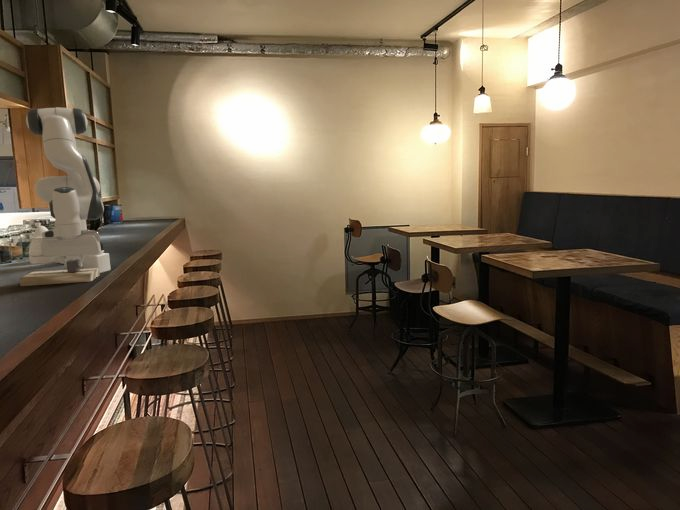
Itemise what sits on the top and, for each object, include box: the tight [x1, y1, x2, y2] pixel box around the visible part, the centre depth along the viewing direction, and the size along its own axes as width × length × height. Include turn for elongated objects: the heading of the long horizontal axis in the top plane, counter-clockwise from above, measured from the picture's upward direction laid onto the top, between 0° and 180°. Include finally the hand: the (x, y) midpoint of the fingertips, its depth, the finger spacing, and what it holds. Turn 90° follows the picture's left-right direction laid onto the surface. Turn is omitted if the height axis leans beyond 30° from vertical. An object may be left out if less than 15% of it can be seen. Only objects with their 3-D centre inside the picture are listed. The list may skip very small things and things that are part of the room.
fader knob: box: [66, 259, 81, 272], centre depth 193 cm, size 5×3×4 cm, turn 10°
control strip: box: [19, 267, 101, 287], centre depth 192 cm, size 12×24×3 cm, turn 100°
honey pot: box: [28, 222, 58, 265], centre depth 237 cm, size 13×13×18 cm
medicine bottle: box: [82, 241, 112, 274], centre depth 207 cm, size 7×7×12 cm
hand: (73, 267), depth 193 cm, fingers closed on fader knob, 3 cm apart
